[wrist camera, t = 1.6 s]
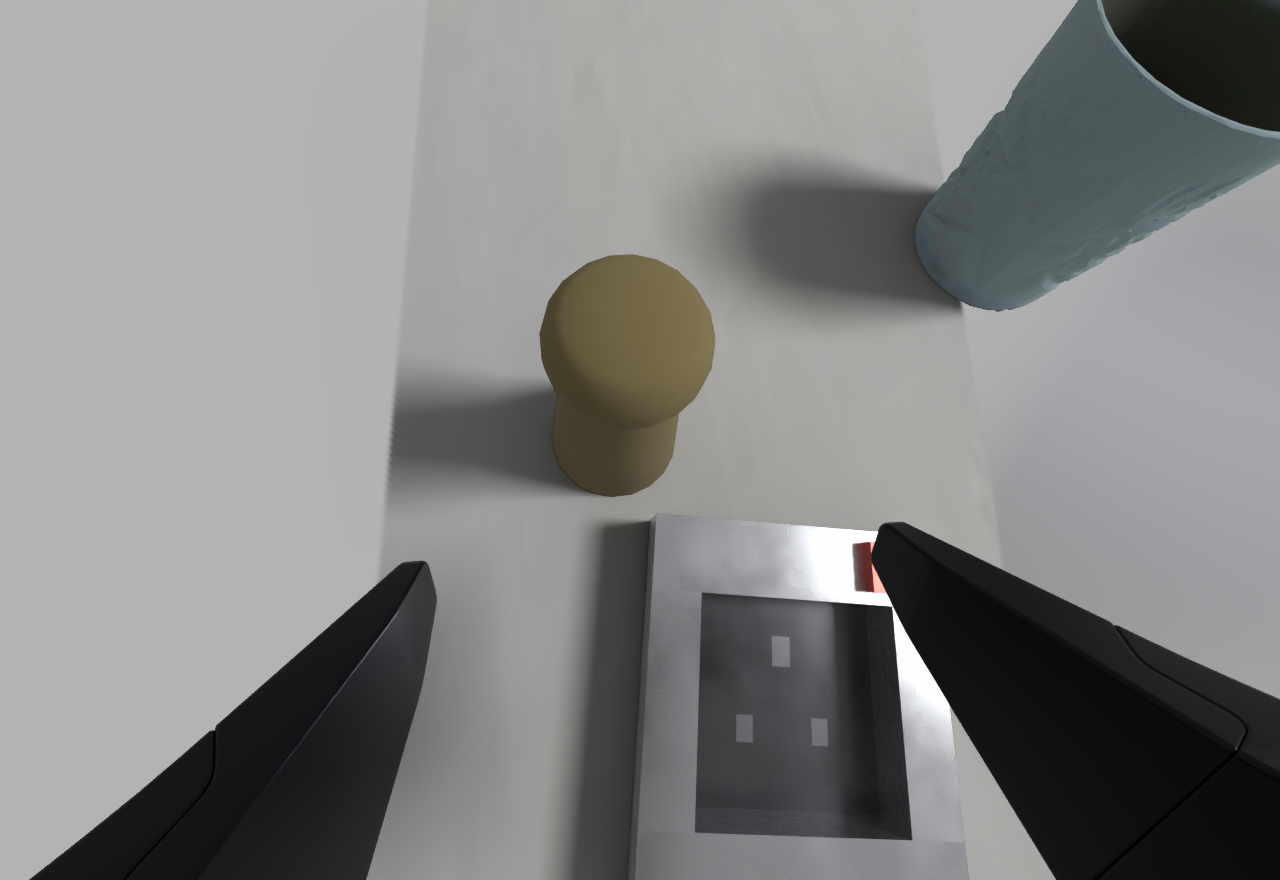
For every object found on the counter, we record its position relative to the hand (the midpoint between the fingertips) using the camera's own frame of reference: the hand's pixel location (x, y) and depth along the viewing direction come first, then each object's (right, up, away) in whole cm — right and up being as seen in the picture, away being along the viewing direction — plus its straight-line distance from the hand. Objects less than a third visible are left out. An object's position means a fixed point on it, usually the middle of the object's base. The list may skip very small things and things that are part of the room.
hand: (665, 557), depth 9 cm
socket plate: (+5, -9, +11) cm, 15 cm away
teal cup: (+20, +14, +20) cm, 31 cm away
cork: (-2, +2, +14) cm, 14 cm away
